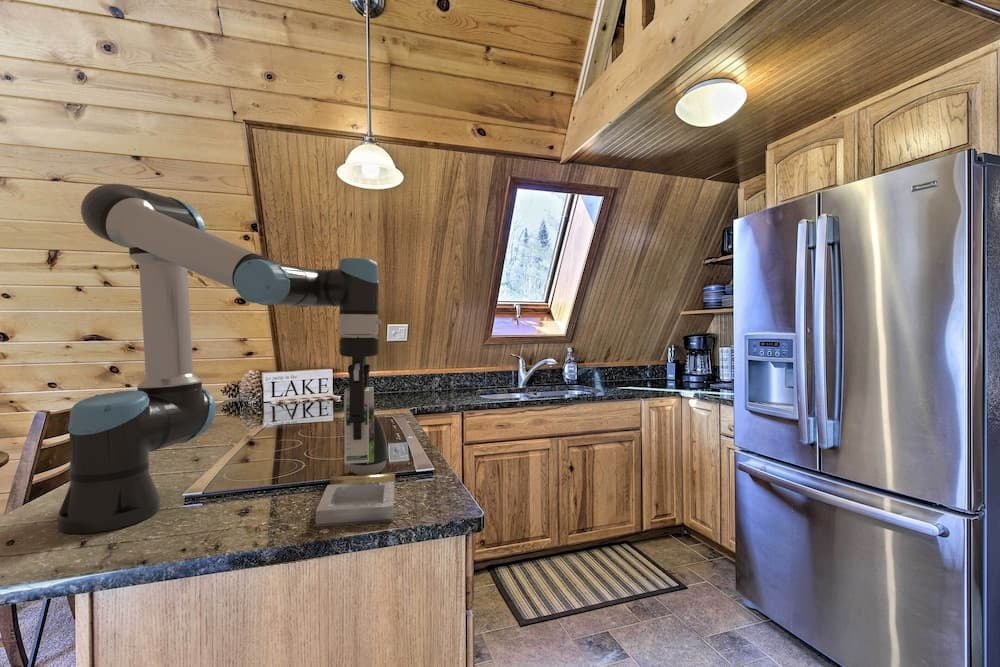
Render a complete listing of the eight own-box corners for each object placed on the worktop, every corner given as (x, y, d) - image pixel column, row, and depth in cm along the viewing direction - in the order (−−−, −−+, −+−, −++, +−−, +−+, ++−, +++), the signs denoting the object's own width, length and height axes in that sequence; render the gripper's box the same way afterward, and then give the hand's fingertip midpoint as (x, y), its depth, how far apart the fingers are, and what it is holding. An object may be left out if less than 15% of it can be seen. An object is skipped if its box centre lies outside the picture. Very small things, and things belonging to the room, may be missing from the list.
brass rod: (330, 492, 105) (330, 479, 105) (332, 487, 108) (332, 474, 108) (394, 489, 108) (394, 476, 108) (394, 484, 111) (395, 471, 111)
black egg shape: (336, 477, 115) (336, 415, 115) (361, 464, 125) (361, 407, 125) (373, 482, 113) (373, 418, 112) (395, 469, 122) (396, 410, 122)
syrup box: (343, 464, 93) (343, 390, 92) (345, 456, 98) (345, 386, 98) (374, 462, 94) (374, 390, 94) (373, 454, 100) (373, 385, 99)
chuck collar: (315, 527, 88) (315, 511, 88) (327, 498, 102) (327, 484, 102) (392, 521, 91) (393, 506, 91) (394, 494, 105) (394, 481, 105)
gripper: (375, 338, 87) (375, 463, 88) (380, 334, 105) (380, 438, 106) (332, 338, 85) (333, 465, 86) (345, 334, 104) (345, 439, 105)
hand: (359, 450), depth 96 cm, fingers closed on syrup box, 6 cm apart
